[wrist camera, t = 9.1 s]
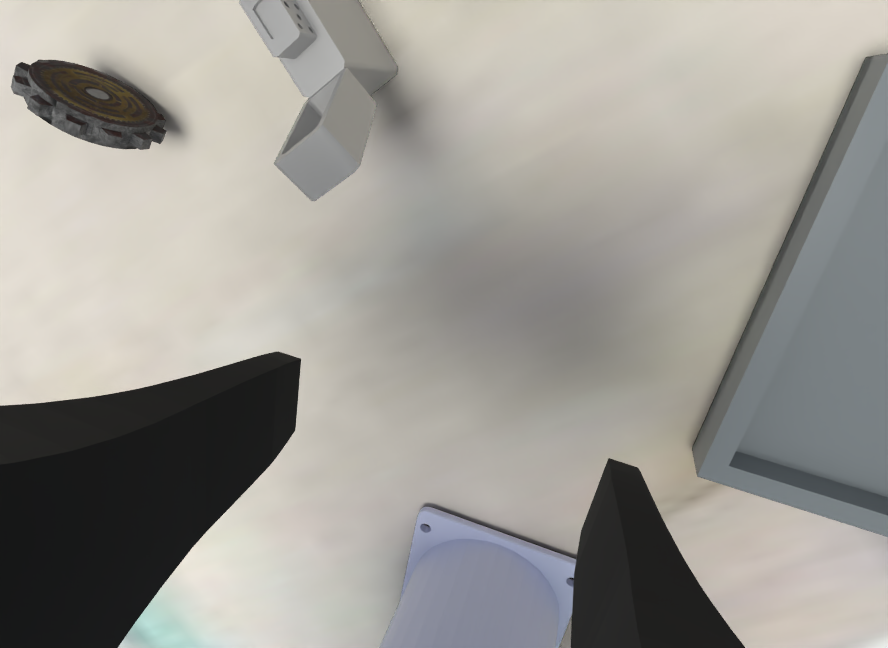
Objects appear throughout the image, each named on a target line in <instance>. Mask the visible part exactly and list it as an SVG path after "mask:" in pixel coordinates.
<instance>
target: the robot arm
mask: <svg viewBox="0 0 888 648" xmlns="http://www.w3.org/2000/svg"><path fill="white" fill-rule="evenodd" d="M300 365H301V359H300V358H296V357H293V356H290V355H287V354H284V353H281V352H273V353H269V354H264V355H261V356H257V357H253V358H250V359H247V360H243V361H240V362H236V363H233V364H230V365H226V366H223V367H220V368H216V369H213V370H209V371H206V372H203V373H199V374H196V375H192V376H188V377H184V378H180V379H176V380H173V381H169V382H165V383H161V384H157V385H153V386H149V387H144V388H140V389H135V390H130V391H125V392H119V393H114V394H108V395H102V396H96V397H89V398H81V399H72V400H63V401H55V402H46V403H36V404H22V405H7V406H0V648H118V646H119V645H120V643H121V642H122V640H123V639H124V638H125V636H126V635H127V633H128V632H129V630H130V629H131V628H132V626H133V625H134V623H135V622H136V621H137V619H138V618H139V617H140V615H141V614H142V612H143V611H144V610H145V608H146V607H147V606H148V604H149V603H150V602H151V600H152V599H153V598H154V596H155V595H156V594H157V592H158V591H159V590H160V588H161V587H162V586H163V584H164V583H165V582H166V580H167V579H168V578H169V577H170V575H171V574H172V573H173V571H174V570H175V569H176V568H177V566H178V565H179V564H180V562H181V561H182V560H183V559H184V557H185V556H186V555H187V554H188V552H189V551H190V550H191V548H192V547H193V546H194V545H195V544H196V543H197V542H198V541H199V539H200V538H201V537H202V536H203V535H204V534H205V533H206V532H207V530H208V529H209V528H210V527H211V526H212V525H213V524H214V523H215V522H216V521H217V520H218V519H219V518H220V517H221V516H222V515H223V514H224V513H225V512H226V511H227V510H228V509H229V508H230V507H231V506H232V505H233V504H234V502H235V501H236V500H237V499H238V498H239V497H240V496H241V495H242V494H243V493H244V492H245V491H246V490H247V489H248V488H249V487H250V486H251V485H252V484H253V483H254V482H255V481H256V480H257V478H258V477H259V476H260V475H261V474H262V473H263V472H264V471H265V470H266V469H267V468H268V467H269V466H270V465H271V463H272V462H273V461H274V459H275V458H276V457H277V455H278V454H279V453H280V451H281V450H282V449H283V447H284V446H285V444H286V443H287V442H288V440H289V439H290V437H291V436H292V434H293V433H294V431H295V427H296V415H297V402H298V390H299V377H300ZM424 524H427V525H429V526H430V527H427V526H425V525H424ZM570 577H571V578H574V580H571V579H569V578H570ZM571 615H572V632H571V648H745V647H744V645H743V644H742V643H741V641H740V640H739V639H738V638H737V636H736V635H735V634H734V633H733V631H732V630H731V629H730V627H729V626H728V624H727V623H726V622H725V620H724V619H723V618H722V616H721V615H720V613H719V612H718V611H717V609H716V608H715V606H714V605H713V604H712V602H711V601H710V599H709V598H708V597H707V595H706V594H705V592H704V591H703V589H702V588H701V586H700V585H699V583H698V581H697V580H696V578H695V576H694V575H693V573H692V572H691V570H690V568H689V567H688V565H687V563H686V562H685V560H684V558H683V556H682V555H681V553H680V551H679V549H678V547H677V546H676V544H675V542H674V540H673V538H672V536H671V534H670V532H669V531H668V529H667V527H666V525H665V523H664V521H663V519H662V517H661V515H660V513H659V511H658V509H657V507H656V504H655V502H654V500H653V498H652V496H651V494H650V492H649V489H648V487H647V485H646V483H645V481H644V478H643V476H642V474H641V472H640V470H639V469H638V468H637V467H634V466H631V465H628V464H625V463H622V462H619V461H616V460H613V459H608V461H607V464H606V466H605V469H604V472H603V474H602V477H601V480H600V482H599V485H598V488H597V490H596V493H595V496H594V498H593V501H592V504H591V506H590V509H589V512H588V514H587V517H586V520H585V522H584V525H583V528H582V530H581V535H580V541H579V547H578V553H577V559H574V558H571V557H568V556H565V555H562V554H560V553H557V552H554V551H551V550H549V549H546V548H543V547H540V546H537V545H535V544H532V543H529V542H526V541H524V540H521V539H518V538H515V537H512V536H510V535H507V534H504V533H501V532H499V531H496V530H493V529H490V528H487V527H485V526H482V525H479V524H476V523H474V522H471V521H468V520H465V519H462V518H460V517H457V516H454V515H451V514H449V513H446V512H443V511H440V510H437V509H435V508H432V507H423V508H422V509H421V510H420V512H419V514H418V516H417V521H416V526H415V530H414V535H413V540H412V545H411V550H410V555H409V559H408V564H407V569H406V574H405V579H404V584H403V588H402V593H401V598H400V603H399V605H398V607H397V609H396V612H395V614H394V616H393V618H392V620H391V623H390V625H389V627H388V629H387V632H386V634H385V636H384V638H383V640H382V643H381V645H380V647H379V648H559V646H560V643H561V641H562V638H563V635H564V633H565V630H566V628H567V625H568V623H569V620H570V618H571Z"/></svg>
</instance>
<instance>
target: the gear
mask: <svg viewBox="0 0 888 648" xmlns="http://www.w3.org/2000/svg"><path fill="white" fill-rule="evenodd" d="M11 88H12V91H13V93H14V94H17V95H20V96H23V97H24V99H25V101H26V103H27V105H28V107H27V108H28V109H29V110H30V111H32V112H33V113H34V114H35V115H37V116H39V117H40V118H42V119H43V120H45V121H46V122H48V123H49V124H51V125H52V126H54V127H56V128H58V129H60V130H61V131H63V132H66V133H68V134H70V135H72V136H74V137H77V138H80V139H82V140H85V141H88V142H91V143H94V144H98V145H102V146H106V147H112V148H119V149H136V148H138V149H140V150H143V149H149V148H150V145H151V142H152V141H153V142H156V143H159V144H161V142H162V141H163V139H164V136H165V133H166V130H164V129H163V126H164V123H165V121H166V120H165V119H164V117H163V115H162V114H159V113H157V111H156V109H155V108H154V106H153V105H152V104H151V103H150V102H149V101H148V100H147V99H146V98H145V97H144V96H143V95H141V94H140V93H139V92H137V91H136V90H134V89H133V88H131V87H130V86H128V85H126V84H125V83H123V82H121V81H119V80H117V79H115V78H113V77H111V76H109V75H107V74H104V73H102V72H100V71H97V70H94V69H91V68H88V67H85V66H82V65H78V64H75V63H70V62H65V61H58V60H38V61H36V62H35V63H33V64H31V65H28V64H25V63H23V62H21V63H19V64H17V65H16V68H15V73H14V75H13V79H12V85H11Z"/></svg>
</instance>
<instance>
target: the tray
mask: <svg viewBox="0 0 888 648" xmlns="http://www.w3.org/2000/svg"><path fill="white" fill-rule="evenodd" d="M692 451H693V457H694V462H695V468H696V473H697V477H701V478H704V479H707V480H710V481H713V482H716V483H720V484H723V485H726V486H729V487H732V488H735V489H738V490H742V491H745V492H748V493H751V494H754V495H757V496H760V497H764V498H767V499H770V500H773V501H776V502H779V503H782V504H786V505H789V506H792V507H795V508H798V509H801V510H804V511H808V512H811V513H814V514H817V515H820V516H823V517H827V518H830V519H833V520H836V521H839V522H842V523H845V524H849V525H852V526H855V527H858V528H861V529H864V530H867V531H871V532H874V533H877V534H880V535H883V536H886V537H888V54H883V55H877V56H871V57H866V58H865V61H864V63H863V65H862V67H861V70H860V72H859V74H858V76H857V79H856V81H855V83H854V85H853V88H852V90H851V92H850V94H849V97H848V99H847V101H846V103H845V106H844V108H843V110H842V112H841V115H840V117H839V119H838V121H837V124H836V126H835V128H834V130H833V133H832V135H831V137H830V139H829V142H828V144H827V146H826V148H825V151H824V153H823V155H822V157H821V160H820V162H819V164H818V166H817V169H816V171H815V173H814V175H813V178H812V180H811V182H810V184H809V187H808V189H807V191H806V193H805V196H804V198H803V200H802V202H801V205H800V207H799V209H798V211H797V214H796V216H795V218H794V220H793V223H792V225H791V227H790V229H789V232H788V234H787V236H786V238H785V241H784V243H783V245H782V247H781V250H780V252H779V254H778V256H777V259H776V261H775V263H774V265H773V268H772V270H771V272H770V274H769V277H768V279H767V281H766V283H765V286H764V288H763V290H762V292H761V295H760V297H759V299H758V301H757V304H756V306H755V308H754V310H753V313H752V315H751V317H750V319H749V322H748V324H747V326H746V328H745V331H744V333H743V335H742V337H741V340H740V342H739V344H738V346H737V349H736V351H735V353H734V355H733V358H732V360H731V362H730V364H729V367H728V369H727V371H726V373H725V376H724V378H723V380H722V382H721V385H720V387H719V389H718V391H717V394H716V396H715V398H714V401H713V403H712V405H711V407H710V410H709V412H708V414H707V416H706V419H705V421H704V423H703V425H702V428H701V430H700V432H699V434H698V437H697V439H696V441H695V443H694V446H693V448H692Z"/></svg>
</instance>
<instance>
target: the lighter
mask: <svg viewBox="0 0 888 648" xmlns="http://www.w3.org/2000/svg"><path fill="white" fill-rule="evenodd" d="M239 4H240V5H241V7H242V8H243V10H244V11H245V13H246V15H247V16H248V18H249V19H250V21H251V22H252V24H253V26H254V27H255V29H256V30H257V32H258V33H259V35H260V37H261V38H262V40H263V41H264V43H265V45H266V46H267V48H268V49H269V51H270V52H271V54H272V56H273V57H279V59H280V61H281V62H282V64H283V65H284V67H285V68H286V70H287V72H288V73H289V75H290V76H291V78H292V79H293V81H294V83H295V84H296V86H297V87H298V89H299V91H300V92H301V94H302V95H303V96H305V97H309V99H308V100H307V101H306V102H305V103H304V105H303V107H302V109H301V111H300V113H299V115H298V117H297V119H296V121H295V123H294V125H293V127H292V129H291V131H290V133H289V135H288V137H287V139H286V140H285V142H284V144H283V146H282V148H281V150H280V152H279V154H278V156H277V158H276V160H275V162H274V165H275V166H276V167H277V168H278V169H279V170H280V171H282V172H283V173H284V174H285V175H286V176H287V177H288V178H289V179H290V180H291V181H292V182H293V183H294V184H295V185H296V186H297V187H298V188H299V189H300V190H301V191H302V192H303V193H304V194H305V195H306V196H307V197H308V198H309V199H310V200H311V201H316V200H317V199H319V198H320V197H321V196H323V195H324V194H325V193H327V192H328V191H330V190H331V189H332V188H334V187H335V186H336V185H338V184H339V183H341V182H342V181H343V180H345V179H346V178H347V177H349V176H350V175H351V174H353V173H354V172H355V171H356V170H357V169H358V167H359V166H360V164H361V161H362V157H363V153H364V150H365V146H366V143H367V139H368V136H369V132H370V128H371V125H372V121H373V118H374V114H375V111H376V107H377V103H376V102H375V101H374V100H373V99H372V97H371V96H370V95H372V94H373V93H374V92H375V91H377V90H378V89H379V88H380V87H382V86H383V85H384V84H385V83H387V82H388V81H389V80H390V79H392V78H393V77H394V76H395V75H397V70H398V66H397V65H396V63H395V61H394V60H393V58H392V56H391V54H390V53H389V51H388V49H387V48H386V46H385V44H384V43H383V41H382V39H381V38H380V36H379V34H378V33H377V31H376V29H375V28H374V26H373V24H372V23H371V21H370V19H369V18H368V16H367V14H366V13H365V11H364V9H363V7H362V6H361V4H360V2H359V1H358V0H240V1H239Z"/></svg>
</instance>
